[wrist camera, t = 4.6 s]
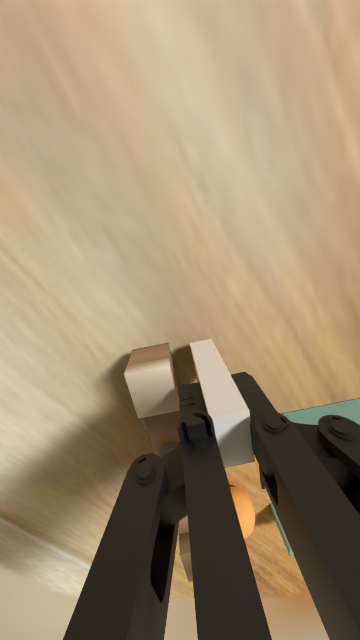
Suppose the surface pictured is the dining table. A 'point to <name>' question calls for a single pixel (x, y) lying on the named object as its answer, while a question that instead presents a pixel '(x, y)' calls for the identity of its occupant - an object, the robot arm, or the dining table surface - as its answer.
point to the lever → (159, 412)
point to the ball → (244, 510)
